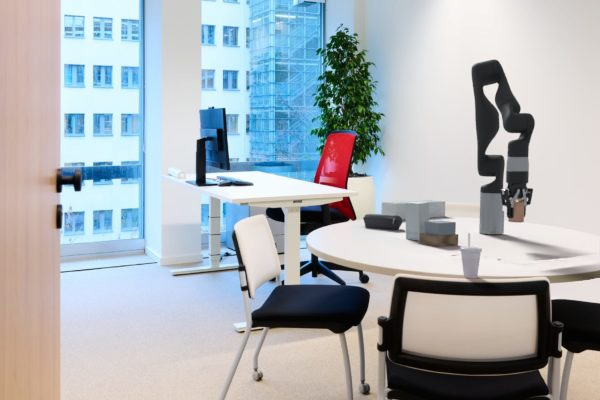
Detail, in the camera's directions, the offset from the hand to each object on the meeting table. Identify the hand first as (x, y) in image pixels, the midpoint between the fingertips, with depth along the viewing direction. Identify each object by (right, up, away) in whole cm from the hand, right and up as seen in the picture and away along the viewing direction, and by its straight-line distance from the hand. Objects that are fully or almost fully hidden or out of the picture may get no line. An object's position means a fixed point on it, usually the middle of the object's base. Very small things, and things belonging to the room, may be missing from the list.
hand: (516, 217), depth 228 cm
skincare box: (-31, -10, +25) cm, 41 cm away
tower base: (-25, -11, +12) cm, 30 cm away
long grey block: (-21, -6, +89) cm, 91 cm away
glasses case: (-41, -8, +51) cm, 66 cm away
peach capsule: (0, -2, 0) cm, 2 cm away
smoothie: (-25, -18, -35) cm, 47 cm away
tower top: (-25, -6, +11) cm, 28 cm away
